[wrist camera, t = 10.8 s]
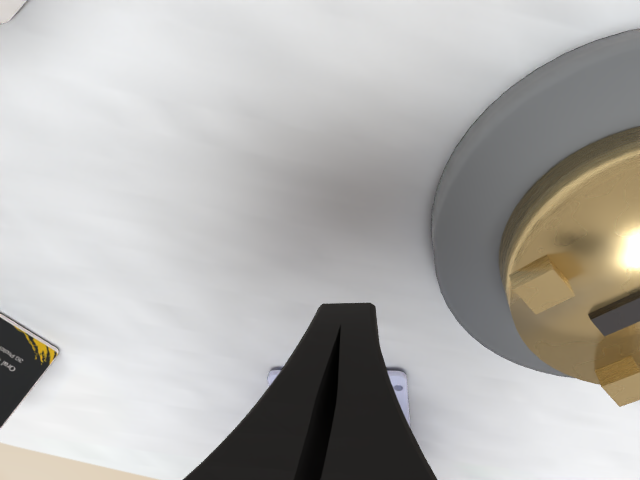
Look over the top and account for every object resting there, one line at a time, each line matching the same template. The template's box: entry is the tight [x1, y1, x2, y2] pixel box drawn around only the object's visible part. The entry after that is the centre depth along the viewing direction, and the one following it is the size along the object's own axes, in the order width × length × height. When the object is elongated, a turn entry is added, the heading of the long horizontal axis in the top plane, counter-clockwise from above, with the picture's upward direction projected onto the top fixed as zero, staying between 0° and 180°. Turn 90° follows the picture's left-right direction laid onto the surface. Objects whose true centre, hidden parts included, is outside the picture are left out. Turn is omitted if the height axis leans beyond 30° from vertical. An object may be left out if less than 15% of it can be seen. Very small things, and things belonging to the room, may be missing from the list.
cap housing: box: [431, 29, 640, 378], centre depth 19 cm, size 15×15×2 cm
